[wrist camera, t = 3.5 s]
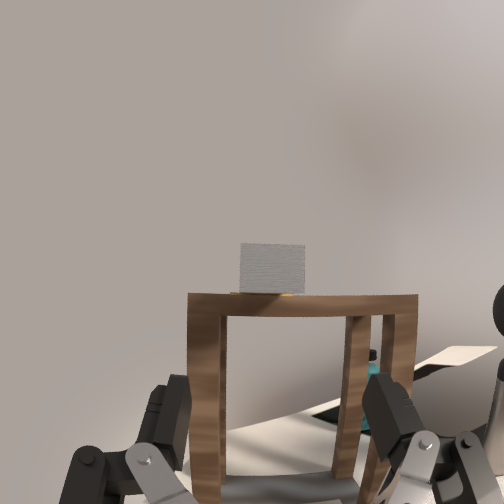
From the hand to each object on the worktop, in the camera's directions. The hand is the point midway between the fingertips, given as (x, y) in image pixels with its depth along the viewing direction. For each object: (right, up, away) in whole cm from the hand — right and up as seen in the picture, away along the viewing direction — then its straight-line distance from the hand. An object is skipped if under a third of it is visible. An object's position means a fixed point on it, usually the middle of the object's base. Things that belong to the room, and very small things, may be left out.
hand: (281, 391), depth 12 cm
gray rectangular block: (0, +2, +18) cm, 18 cm away
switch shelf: (+4, -31, +20) cm, 37 cm away
